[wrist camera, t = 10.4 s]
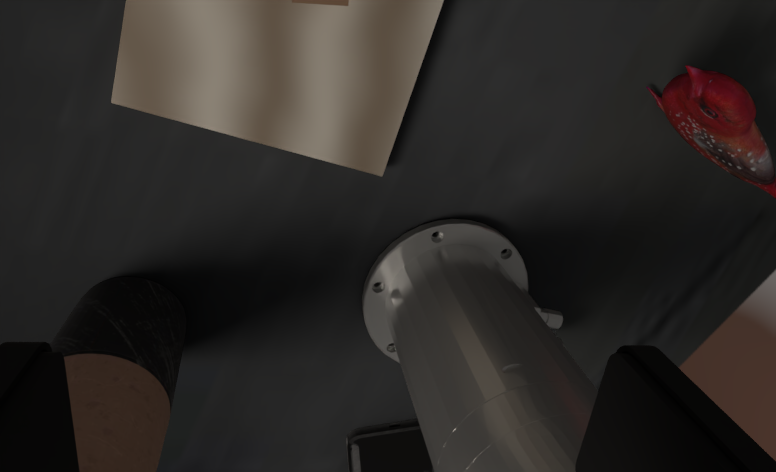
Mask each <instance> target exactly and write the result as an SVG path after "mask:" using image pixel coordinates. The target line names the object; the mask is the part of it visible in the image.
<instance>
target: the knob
mask: <svg viewBox="0 0 776 472" xmlns="http://www.w3.org/2000/svg"><path fill="white" fill-rule="evenodd" d="M291 1H292V3H306V4H322V5H339V6H348V3H349V0H291Z"/></svg>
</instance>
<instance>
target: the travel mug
mask: <svg viewBox="0 0 776 472" xmlns="http://www.w3.org/2000/svg"><path fill="white" fill-rule="evenodd" d="M186 326H187V320H186V315H185V311H184V309H183V306H182V304H181V303H180V301H179V300H178V299H177V297H176V296H175V295H174V294H173V293H172V292H171V291H169V290H168V289H167V288H165V287H164V286H162V285H160V284H158V283H156V282H153V281H151V280H147V279H144V278H138V277H118V278H113V279H109V280H106V281H104V282H101V283H99V284H97V285H96V286H94V287H93V288H91V289H90V290H89V291H88V292H87V293H86V294H85V295H84V296H83V297H82V298H81V300H80V301H79V302H78V304H77V305H76V307H75V308H74V310H73V311H72V312H71V314H70V315H69V317H68V318H67V320H66V321H65V323H64V324H63V326H62V327H61V329H60V330H59V332H58V333H57V335H56V336H55V338H54V339H53V341H52V342H51V344H50V346H51V348H52V352H61V353H62V354H63V356H64V360H65V367H66V375H67V382H68V389H69V397H70V404H71V412H72V419H73V426H74V434H75V441H76V449H77V456H78V463H79V471H80V472H156V470H157V466H158V462H159V458H160V454H161V450H162V446H163V443H164V439H165V435H166V431H167V427H168V423H169V418H170V413H171V408H172V403H173V398H174V392H175V387H176V382H177V377H178V372H179V366H180V361H181V356H182V351H183V346H184V340H185V334H186Z"/></svg>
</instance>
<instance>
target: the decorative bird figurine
mask: <svg viewBox="0 0 776 472" xmlns="http://www.w3.org/2000/svg"><path fill="white" fill-rule="evenodd" d="M686 68H687V71H688V73H685V74H681V75H678V76H677V77H675V78H674V79H672V80H671V81H670V82H669V83H668V84H667V86H666V87H665V88H664V91H663V93H662V98H661V97H659V96H658V95H657V94H656V93H655V92H654V91H653V90H652V89H650V88H649V87H647V86H646V88H647V89H648V90H649V91H650V93H651V94H652V95H653V97H654V98H655V99H656V102H657V105H658V106H659V107H660V108H661V109H662V110H663V111H664V112H665V114H666V116H667V118H668V120H669V122H670V123H671V124H672V126H673V127H674V128H675V130H676V131H677V132H678V133H679V134H680V136H681V137H682V138H683V139H684V140H685V141H686V142H687V143H689V144H690V145H691V146H692V147H693V148H694V149H695V150H697V151H698V152H699V153H701V154H702V155H703V156H705V157H706V158H707V159H709V160H710V161H712V162H714V163H715V164H717V165H718V166H720V167H721V168H723V169H724V170H726V171H727V172H729V173H730V174H732V175H734V176H735V177H737V178H739V179H742V180H744V181H746V182H749V183H751V184H753V185H756V186H758V187H760V188H761V189H763V190H764V191H766V192H768V193H769V194H770V195H772V196H773V197H774V198H775V199H776V177H775V169H774V165H773V160H772V157H771V154H770V151H769V148H768V146H767V144H766V141H765V140H764V138H763V136H762V134H761V132H760V130H759V129H758V127H757V125H756V123H755V121H754V119H755V116H756V107H755V104H754V102H753V100H752V98H751V96H750V94H749V93H748V91H747V90H746V89H745V88H744V87H743V86H742V85H741V84H740V83H738V82H737V81H736V80H734V79H733V78H731V77H729V76H727V75H725V74H722V73H719V72H715V71H706V70H701V69H699V68H695V67H692V66H688V65H686Z"/></svg>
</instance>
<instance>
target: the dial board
mask: <svg viewBox="0 0 776 472" xmlns="http://www.w3.org/2000/svg"><path fill="white" fill-rule="evenodd" d="M443 1H444V0H349V3H348V6H339V5H322V4H306V3H292V1H291V0H126V5H125V12H124V19H123V25H122V32H121V39H120V46H119V52H118V59H117V66H116V73H115V80H114V86H113V93H112V100H111V103H114V104H118V105H121V106H125V107H129V108H132V109H136V110H140V111H143V112H147V113H151V114H154V115H158V116H162V117H166V118H169V119H173V120H177V121H180V122H184V123H188V124H191V125H195V126H199V127H202V128H206V129H210V130H213V131H217V132H221V133H224V134H228V135H232V136H235V137H239V138H243V139H246V140H250V141H254V142H257V143H261V144H265V145H268V146H272V147H276V148H279V149H283V150H287V151H290V152H294V153H298V154H301V155H305V156H309V157H312V158H316V159H320V160H323V161H327V162H331V163H334V164H338V165H342V166H346V167H349V168H353V169H357V170H360V171H364V172H368V173H371V174H375V175H379V176H383V173H384V170H385V168H386V165H387V162H388V159H389V156H390V153H391V150H392V147H393V145H394V142H395V139H396V136H397V133H398V130H399V127H400V125H401V122H402V119H403V116H404V113H405V110H406V107H407V105H408V102H409V99H410V96H411V93H412V90H413V87H414V84H415V82H416V79H417V76H418V73H419V70H420V67H421V64H422V62H423V59H424V56H425V53H426V50H427V47H428V44H429V42H430V39H431V36H432V33H433V30H434V27H435V24H436V21H437V19H438V16H439V13H440V10H441V7H442V4H443Z"/></svg>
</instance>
